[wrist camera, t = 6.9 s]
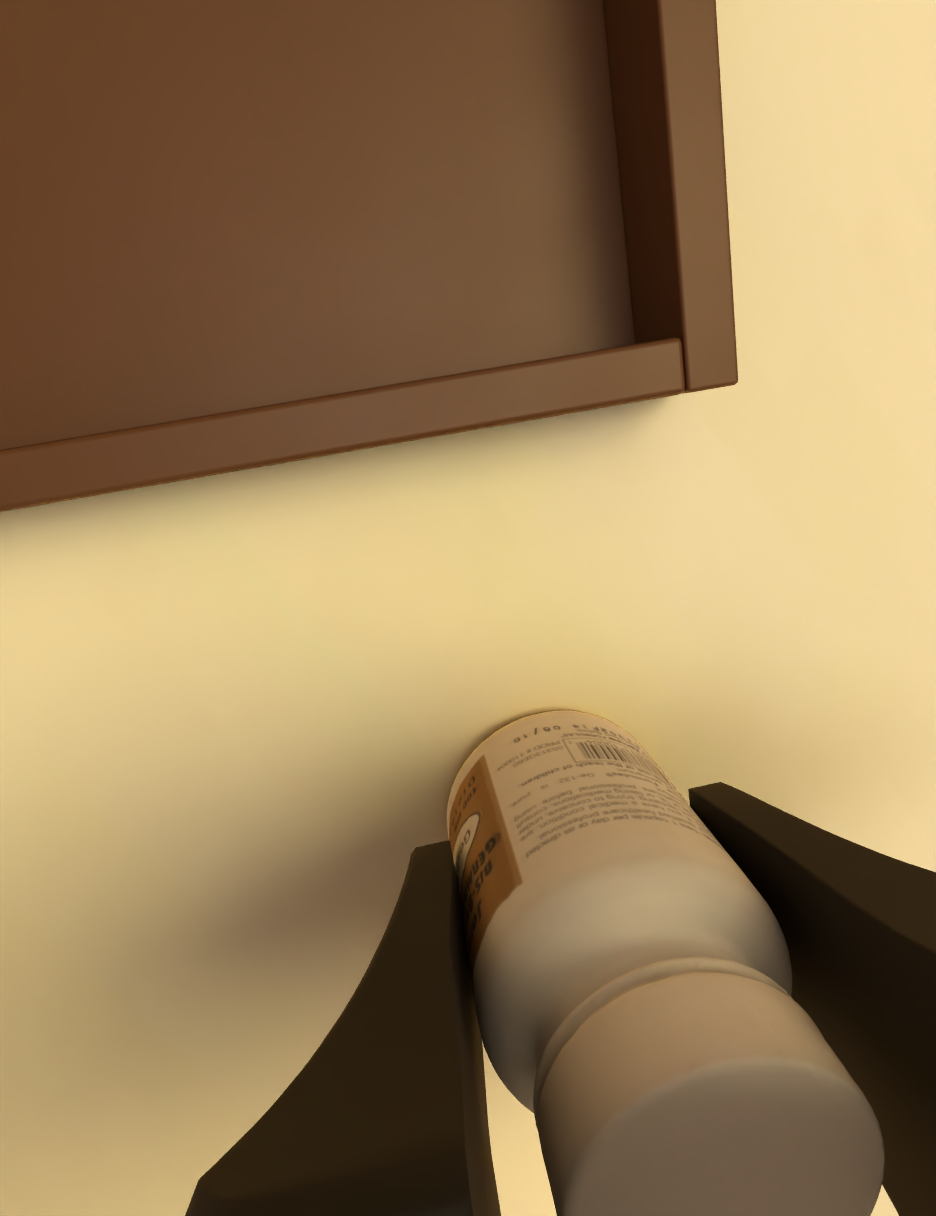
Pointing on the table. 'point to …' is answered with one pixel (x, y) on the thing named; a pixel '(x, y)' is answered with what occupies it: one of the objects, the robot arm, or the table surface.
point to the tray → (346, 226)
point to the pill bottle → (643, 991)
